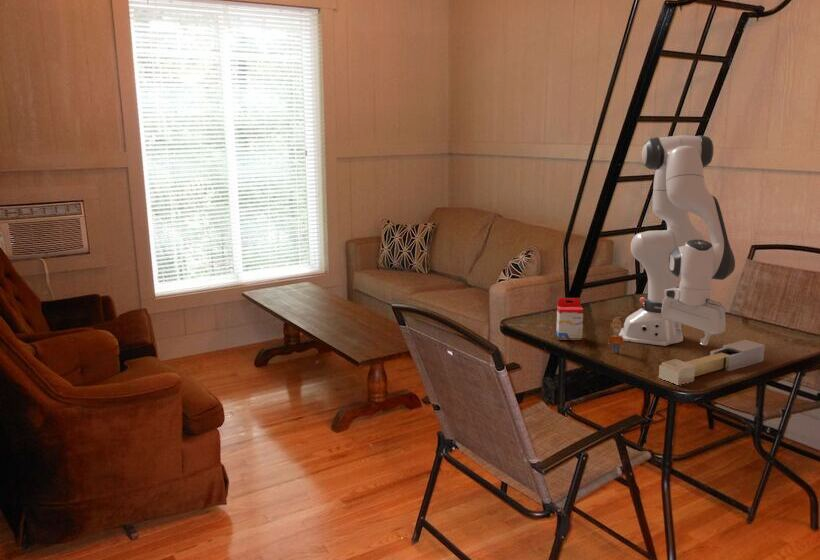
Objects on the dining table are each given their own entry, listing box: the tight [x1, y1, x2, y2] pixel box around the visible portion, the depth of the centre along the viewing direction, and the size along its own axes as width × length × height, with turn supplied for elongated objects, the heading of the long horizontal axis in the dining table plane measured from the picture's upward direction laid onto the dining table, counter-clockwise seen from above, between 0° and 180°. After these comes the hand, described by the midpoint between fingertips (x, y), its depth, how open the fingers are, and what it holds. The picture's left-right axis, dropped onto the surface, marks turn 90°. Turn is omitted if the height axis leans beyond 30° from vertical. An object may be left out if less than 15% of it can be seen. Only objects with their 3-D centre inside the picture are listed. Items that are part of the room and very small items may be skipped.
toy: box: [607, 316, 625, 354], centre depth 224 cm, size 5×3×13 cm, turn 59°
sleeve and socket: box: [658, 339, 766, 386], centre depth 208 cm, size 40×7×5 cm, turn 119°
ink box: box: [555, 297, 584, 339], centre depth 240 cm, size 8×5×15 cm, turn 88°
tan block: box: [685, 353, 729, 378], centre depth 205 cm, size 22×4×4 cm, turn 119°
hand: (690, 339), depth 201 cm, fingers open, 8 cm apart
